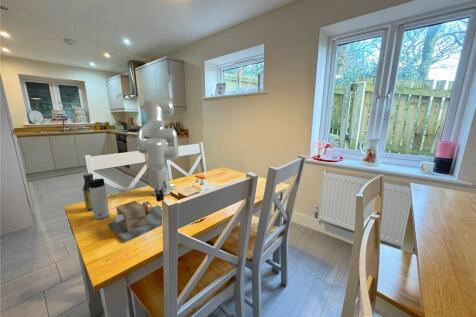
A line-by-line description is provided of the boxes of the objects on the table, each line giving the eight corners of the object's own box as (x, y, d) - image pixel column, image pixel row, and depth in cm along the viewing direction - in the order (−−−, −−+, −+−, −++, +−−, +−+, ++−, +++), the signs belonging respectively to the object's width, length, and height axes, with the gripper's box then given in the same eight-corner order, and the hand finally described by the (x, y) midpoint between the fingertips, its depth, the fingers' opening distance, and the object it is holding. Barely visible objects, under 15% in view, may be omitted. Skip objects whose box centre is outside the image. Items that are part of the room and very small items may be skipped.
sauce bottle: (85, 208, 105) (79, 173, 101) (99, 205, 110) (93, 171, 105) (87, 212, 101) (80, 176, 96) (101, 208, 105) (96, 174, 101)
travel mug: (102, 221, 93) (95, 181, 89) (91, 219, 94) (84, 180, 90) (113, 214, 99) (107, 177, 95) (102, 213, 100) (96, 176, 96)
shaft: (146, 211, 95) (145, 200, 94) (152, 215, 92) (151, 203, 90) (113, 223, 84) (111, 211, 83) (119, 228, 81) (117, 215, 79)
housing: (158, 207, 107) (156, 190, 104) (176, 218, 96) (175, 199, 93) (108, 226, 88) (105, 206, 86) (124, 242, 77) (121, 220, 75)
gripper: (142, 164, 96) (145, 198, 101) (157, 171, 87) (161, 207, 91) (156, 161, 101) (159, 193, 106) (172, 167, 92) (174, 202, 97)
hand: (160, 200), depth 99 cm, fingers closed
